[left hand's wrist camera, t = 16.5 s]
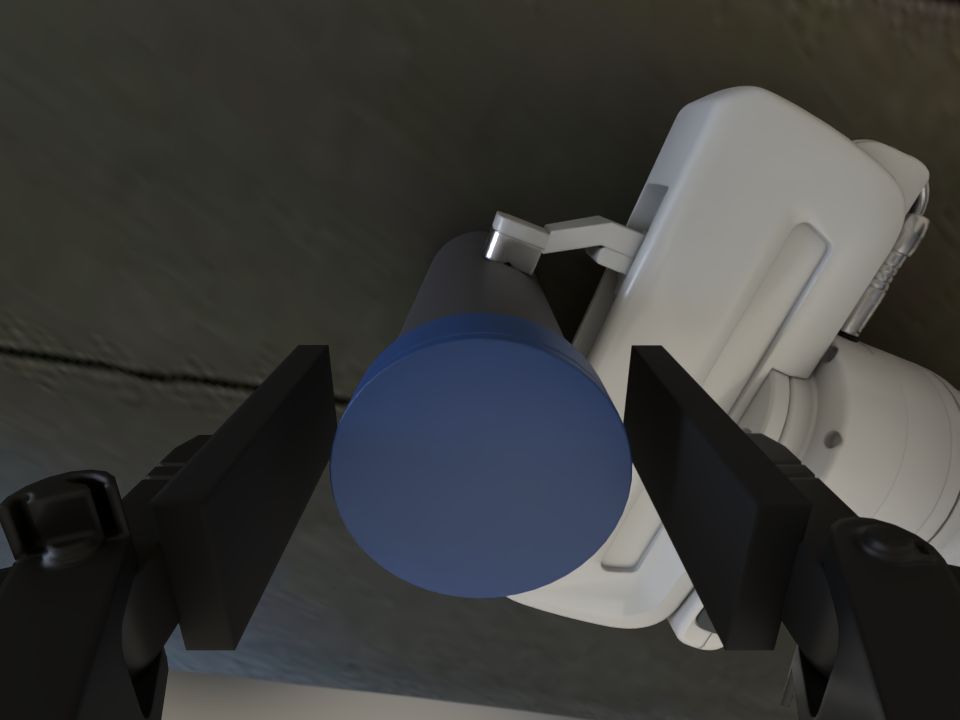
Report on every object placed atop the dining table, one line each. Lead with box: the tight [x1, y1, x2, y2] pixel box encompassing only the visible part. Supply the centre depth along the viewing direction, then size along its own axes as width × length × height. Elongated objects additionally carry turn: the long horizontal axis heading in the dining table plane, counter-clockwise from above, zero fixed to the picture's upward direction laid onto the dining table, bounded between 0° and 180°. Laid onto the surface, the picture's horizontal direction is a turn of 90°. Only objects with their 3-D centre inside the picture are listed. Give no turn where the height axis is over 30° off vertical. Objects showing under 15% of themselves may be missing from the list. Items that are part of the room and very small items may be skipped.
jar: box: [397, 231, 564, 339], centre depth 18 cm, size 5×5×16 cm
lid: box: [330, 312, 632, 598], centre depth 11 cm, size 6×6×2 cm
